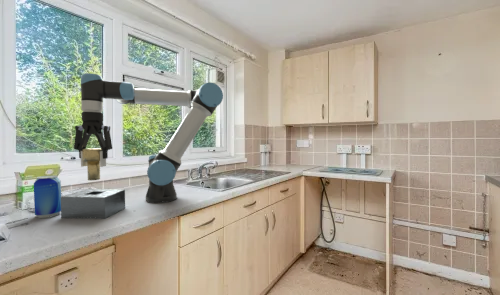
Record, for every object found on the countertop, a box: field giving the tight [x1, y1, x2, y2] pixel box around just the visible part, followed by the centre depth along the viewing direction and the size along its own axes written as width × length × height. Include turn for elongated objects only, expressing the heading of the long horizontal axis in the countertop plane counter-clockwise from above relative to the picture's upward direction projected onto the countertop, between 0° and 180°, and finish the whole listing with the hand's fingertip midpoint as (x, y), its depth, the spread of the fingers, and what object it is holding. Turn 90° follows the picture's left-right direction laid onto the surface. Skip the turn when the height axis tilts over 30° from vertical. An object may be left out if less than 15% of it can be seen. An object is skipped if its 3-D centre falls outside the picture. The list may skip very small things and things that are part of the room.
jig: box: [60, 188, 126, 220], centre depth 101 cm, size 18×14×8 cm
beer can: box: [33, 175, 62, 219], centre depth 97 cm, size 8×8×16 cm
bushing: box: [82, 147, 102, 181], centre depth 100 cm, size 8×8×13 cm
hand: (93, 166), depth 100 cm, fingers closed on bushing, 8 cm apart
